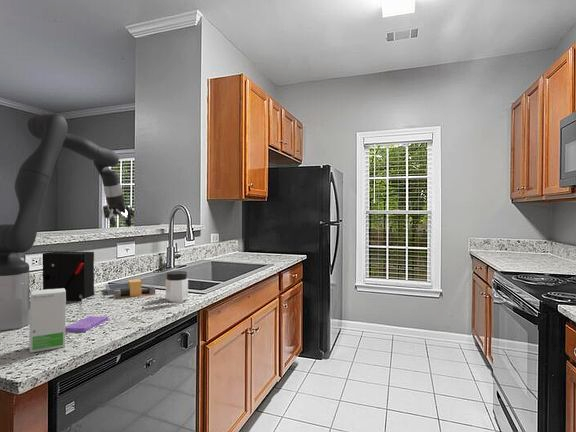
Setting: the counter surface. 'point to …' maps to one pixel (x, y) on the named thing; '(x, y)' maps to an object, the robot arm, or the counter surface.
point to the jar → (177, 287)
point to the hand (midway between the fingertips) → (121, 226)
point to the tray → (116, 287)
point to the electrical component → (69, 273)
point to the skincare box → (47, 319)
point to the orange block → (135, 287)
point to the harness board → (126, 294)
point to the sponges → (86, 324)
